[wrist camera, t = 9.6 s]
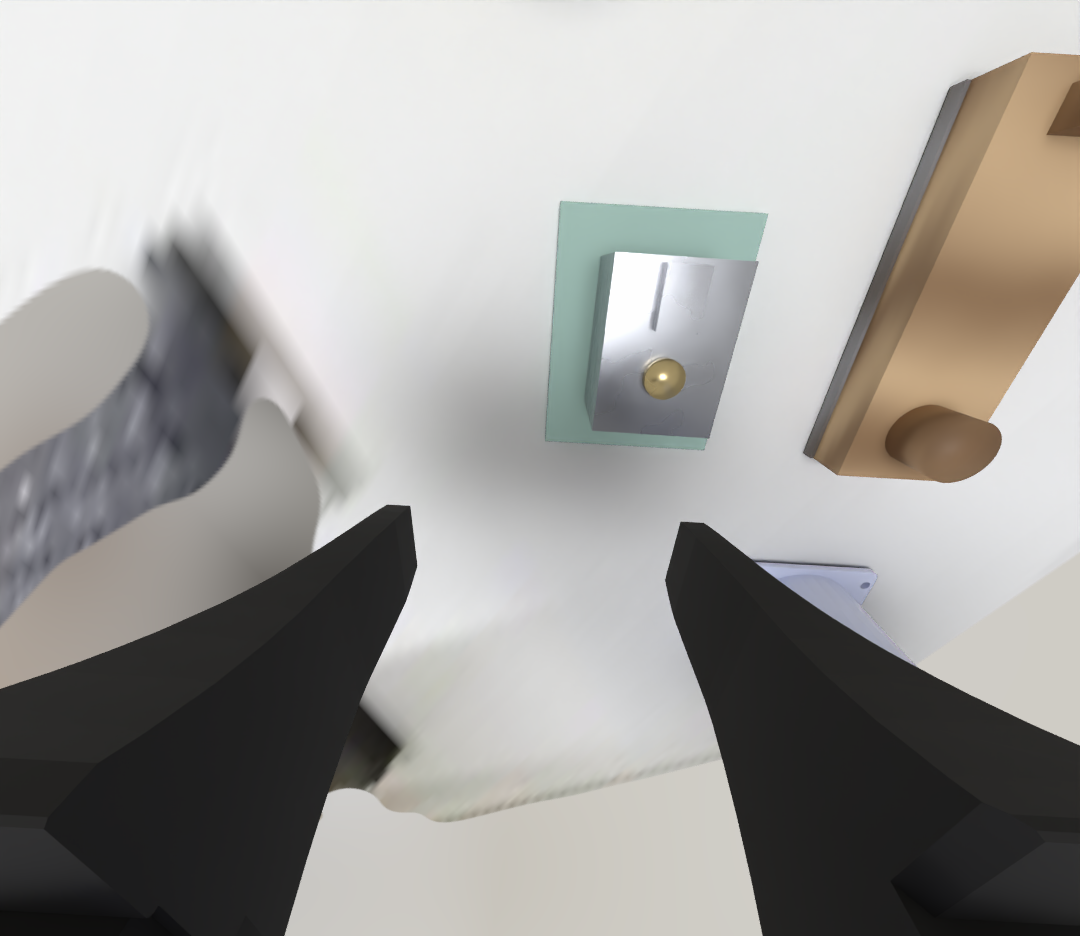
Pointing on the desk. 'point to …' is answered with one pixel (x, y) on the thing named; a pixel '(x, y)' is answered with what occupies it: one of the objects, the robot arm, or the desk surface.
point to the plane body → (963, 280)
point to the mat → (577, 270)
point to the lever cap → (663, 341)
